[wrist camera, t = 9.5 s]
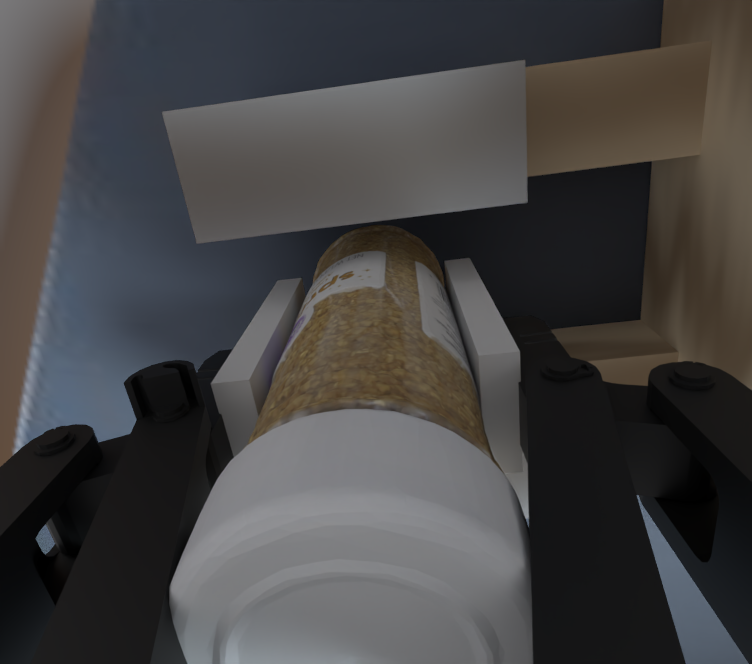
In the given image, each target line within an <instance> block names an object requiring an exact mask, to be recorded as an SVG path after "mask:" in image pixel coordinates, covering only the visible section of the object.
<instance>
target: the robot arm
mask: <svg viewBox="0 0 752 664" xmlns="http://www.w3.org/2000/svg"><path fill="white" fill-rule="evenodd" d="M444 264H445V276H446V289H447V295H448V298H449V300H450V303H451V306H452V310H453V313H454V316H455V319H456V322H457V325H458V329H459V332H460V335H461V338H462V342H463V345H464V348H465V352H466V355H467V358H468V361H469V365H470V368H471V371H472V375H473V378H474V382H475V385H476V388H477V392H478V395H479V403H480V411H481V414H482V418H483V423H484V428H485V433H486V435H487V438H488V442H489V445H490V449H491V451H492V454H493V456H494V459H495V460H496V461H497V463H498V464H499V466H500V467H501V469H502V471H503V472H504V473H516V472H523V455H522V451H523V453H524V456H525V459H526V461H527V464H528V514H529V530H530V552H531V591H532V643H533V664H686V663H685V660H684V657H683V653H682V650H681V646H680V643H679V639H678V636H677V633H676V629H675V626H674V622H673V619H672V615H671V612H670V609H669V605H668V602H667V598H666V595H665V592H664V588H663V585H662V581H661V578H660V574H659V571H658V568H657V564H656V561H655V557H654V554H653V551H652V547H651V544H650V540H649V537H648V533H647V530H646V527H645V523H644V520H643V516H642V513H641V510H640V506H639V503H638V499H637V496H636V495H639V497H640V500H641V503H642V505H643V506H644V508H645V509H646V511H647V512H648V514H649V515H650V517H651V518H652V520H653V521H654V523H655V524H656V526H657V527H658V529H659V530H660V532H661V533H662V534H663V536H664V537H665V539H666V540H667V542H668V543H669V545H670V546H671V548H672V549H673V551H674V552H675V554H676V555H677V557H678V558H679V560H680V561H681V563H682V564H683V566H684V567H685V569H686V570H687V572H688V573H689V575H690V576H691V578H692V579H693V581H694V582H695V584H696V585H697V587H698V588H699V590H700V591H701V593H702V594H703V596H704V597H705V599H706V600H707V602H708V603H709V605H710V606H711V608H712V609H713V611H714V612H715V614H716V615H717V617H718V618H719V620H720V621H721V622H722V624H723V625H724V627H725V628H726V630H727V631H728V633H729V634H730V636H731V637H732V639H733V640H734V642H735V643H736V645H737V646H738V648H739V649H740V651H741V652H742V654H743V655H744V657H745V658H746V660H747V661H748V663H749V664H752V390H751V389H749V388H748V387H747V386H745V385H744V384H743V383H741V382H740V381H739V380H737V379H736V378H735V377H733V376H732V375H730V374H729V373H727V372H725V371H723V370H721V369H719V368H716V367H712V366H709V365H706V364H704V363H700V362H695V363H693V361H682V362H671V363H666V364H661V365H658V366H657V367H655V368H653V369H652V370H651V371H650V374H649V377H648V386H642V385H627V384H617V383H610V382H605V381H603V380H602V376H601V373H600V371H599V370H598V369H597V367H596V366H594V365H593V364H591V363H589V362H587V361H584V360H580V359H576V358H571V357H570V355H569V354H568V353H567V351H566V350H565V349H564V347H563V346H562V345H561V343H560V342H559V341H557V338H556V336H555V335H554V334H553V333H552V331H551V329H550V328H549V327H548V325H547V324H546V323H545V322H544V321H542V320H540V319H538V318H536V317H534V316H531V315H529V316H520V317H511V318H502V317H501V315H500V313H499V311H498V310H497V308H496V306H495V304H494V302H493V300H492V298H491V297H490V295H489V293H488V291H487V289H486V287H485V285H484V284H483V282H482V280H481V278H480V276H479V274H478V272H477V271H476V269H475V267H474V265H473V263H472V261H471V259H470V258H464V259H455V260H447V261H444ZM305 298H306V297H305V291H304V286H303V281H302V278H294V279H286V280H278V281H277V282H276V284H275V285H274V287H273V288H272V290H271V291H270V293H269V295H268V296H267V298H266V299H265V301H264V302H263V304H262V305H261V307H260V308H259V310H258V312H257V313H256V315H255V316H254V318H253V319H252V321H251V322H250V324H249V325H248V327H247V328H246V330H245V332H244V333H243V335H242V336H241V338H240V339H239V341H238V342H237V344H236V345H235V347H234V349H232V350H223V351H218V352H217V353H215V354H214V355H213V356H211V357H210V358H208V359H207V360H205V361H204V363H203V364H202V366H201V367H200V368H199V370H198V372H197V373H196V371H195V368H194V364H192V363H190V362H188V361H181V360H175V361H167V362H162V363H158V364H155V365H151V366H149V367H146V368H144V369H142V370H139V371H138V372H136V373H134V374H133V375H131V376H130V377H129V378H128V379H127V380H126V381H125V382H124V385H125V388H126V391H127V394H128V397H129V399H130V402H131V405H132V408H133V410H134V413H135V416H136V419H137V421H136V423H135V425H134V427H133V430H132V432H131V434H128V435H125V436H121V437H118V438H114V439H110V440H106V441H103V442H99V443H98V441H97V438H96V436H95V433H94V431H93V428H92V427H90V426H88V425H76V424H75V425H70V426H60V427H57V428H56V429H55V430H54V429H51V430H48V431H46V432H45V433H44V434H43V435H41V436H39V437H37V438H35V439H33V440H32V441H30V442H29V443H28V444H26V445H25V446H23V447H22V448H21V449H20V450H19V451H18V452H17V453H16V454H14V455H13V456H12V457H11V458H10V459H9V460H8V461H7V462H6V463H4V464H3V465H2V466H1V467H0V664H187V661H186V659H185V656H184V653H183V651H182V648H181V645H180V642H179V640H178V637H177V634H176V630H175V627H174V624H173V620H172V615H171V611H170V606H169V586H170V584H171V581H172V579H173V576H174V574H175V571H176V569H177V566H178V564H179V561H180V559H181V556H182V554H183V552H184V549H185V547H186V545H187V543H188V540H189V538H190V536H191V533H192V531H193V529H194V527H195V524H196V522H197V520H198V517H199V515H200V513H201V511H202V509H203V507H204V505H205V503H206V501H207V499H208V496H209V494H210V492H211V490H212V488H213V486H214V484H215V483H216V481H217V479H218V477H219V476H220V474H221V473H222V472H223V470H224V469H225V468H226V466H227V465H228V463H229V462H230V461H231V460H232V459H233V458H234V457H235V456H237V455H238V454H239V453H240V452H241V451H242V450H243V449H244V447H246V446H247V444H248V441H249V438H250V436H251V434H252V433H253V431H254V429H255V425H256V422H257V419H258V417H259V415H260V412H261V410H262V407H263V406H264V403H265V401H266V398H267V396H268V393H269V390H270V387H271V383H272V378H273V375H274V372H275V369H276V367H277V365H278V363H279V360H280V358H281V356H282V354H283V351H284V349H285V347H286V345H287V342H288V340H289V337H290V335H291V333H292V330H293V328H294V325H295V322H296V320H297V317H298V314H299V312H300V310H301V307H302V305H303V302H304V300H305ZM45 524H46V525H47V527H48V529H49V532H50V534H51V536H52V538H53V540H54V542H55V545H54V546H53V548H52V549H51V550H50V552H48V553H47V554H46V555H45V554H44V553H43V552H42V551H41V549H40V547H39V545H38V543H37V541H36V539H35V538H36V536H37V535H38V533H39V531H40V530H41V529H42V527H43V526H44V525H45Z"/></svg>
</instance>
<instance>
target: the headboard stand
mask: <svg viewBox="0 0 752 664" xmlns="http://www.w3.org/2000/svg"><path fill="white" fill-rule="evenodd" d="M162 115H163V119H164V122H165V126H166V130H167V134H168V137H169V141H170V145H171V149H172V152H173V156H174V160H175V164H176V167H177V171H178V175H179V179H180V183H181V186H182V190H183V194H184V198H185V201H186V205H187V209H188V213H189V216H190V220H191V224H192V228H193V231H194V235H195V239H196V243H197V244H199V243H207V242H215V241H223V240H231V239H239V238H247V237H255V236H263V235H271V234H279V233H287V232H295V231H303V230H311V229H319V228H327V227H335V226H343V225H351V224H360V223H368V222H376V221H384V220H392V219H400V218H408V217H416V216H424V215H432V214H440V213H448V212H456V211H464V210H472V209H480V208H488V207H496V206H504V205H512V204H520V203H528V197H527V177H530V176H538V175H546V174H554V173H561V172H569V171H577V170H585V169H593V168H600V167H608V166H616V165H624V164H632V163H640V162H647V161H652V168H651V182H650V196H649V209H648V223H647V237H646V251H645V264H644V278H643V292H642V305H641V319H640V320H634V321H625V322H615V323H606V324H597V325H587V326H578V327H569V328H559V329H551V331H552V333H553V334H554V335H555V336H556V338H557V341H559V342H560V343H561V345H562V346H563V347H564V349H565V350H566V351H567V353H568V354H569V355H570V357H571V358H576V359H580V360H584V361H587V362H589V363H591V364H593V365H594V366H596V367H597V369H598V370H599V371H600V373H601V376H602V380H603V381H605V382H610V383H617V384H627V385H642V386H648V377H649V374H650V371H651V370H652V369H653V368H655V367H657V366H658V365H661V364H666V363H671V362H682V361H693V363H695V362H700V363H704V364H706V365H709V366H712V367H716V368H719V369H721V370H723V371H725V372H727V373H729V374H730V375H732V376H733V377H735V378H736V379H737V380H739V381H740V382H741V383H743V384H744V385H745V386H747V387H748V388H749V389H751V390H752V0H664V4H663V18H662V32H661V45H660V48H655V49H648V50H641V51H634V52H627V53H620V54H613V55H606V56H599V57H592V58H585V59H578V60H571V61H564V62H557V63H550V64H543V65H536V66H529V67H525V60H519V61H512V62H505V63H498V64H491V65H484V66H477V67H470V68H463V69H456V70H449V71H443V72H436V73H429V74H422V75H415V76H408V77H401V78H394V79H387V80H380V81H373V82H366V83H359V84H352V85H345V86H338V87H331V88H324V89H317V90H310V91H304V92H297V93H290V94H283V95H276V96H269V97H262V98H255V99H248V100H241V101H234V102H227V103H220V104H213V105H206V106H199V107H192V108H185V109H178V110H172V111H165V112H162ZM522 455H523V472H516V473H504V474H505V476H506V477H507V479H508V480H509V482H510V483H511V485H512V487H513V488H514V490H515V492H516V494H517V496H518V499H519V501H520V504H521V507H522V510H523V513H524V516H525V519H526V518H529V514H528V464H527V461H526V459H525V456H524V453H523V451H522Z"/></svg>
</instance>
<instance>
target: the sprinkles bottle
mask: <svg viewBox="0 0 752 664" xmlns="http://www.w3.org/2000/svg"><path fill="white" fill-rule="evenodd" d="M169 606H170V611H171V615H172V620H173V624H174V627H175V630H176V634H177V637H178V640H179V642H180V645H181V648H182V651H183V653H184V656H185V659H186V661H187V664H533V643H532V591H531V552H530V530H529V527H528V525H527V522H526V519H525V516H524V513H523V510H522V507H521V504H520V501H519V499H518V496H517V494H516V492H515V490H514V488H513V487H512V485H511V483H510V482H509V480H508V479H507V477H506V476H505V474H504V472H503V471H502V469H501V467H500V466H499V464H498V463H497V461H496V460H495V459H494V456H493V454H492V451H491V449H490V445H489V442H488V438H487V435H486V433H485V428H484V423H483V418H482V414H481V411H480V403H479V395H478V392H477V388H476V385H475V382H474V378H473V375H472V371H471V368H470V365H469V361H468V358H467V355H466V352H465V348H464V345H463V342H462V338H461V335H460V332H459V329H458V325H457V322H456V319H455V316H454V313H453V310H452V306H451V303H450V300H449V298H448V295H447V293H446V291H445V289H444V278H443V273H442V270H441V268H440V265H439V263H438V261H437V259H436V257H435V255H434V253H433V252H432V251H431V250H430V249H429V248H428V247H427V246H426V245H425V244H424V243H423V241H422V240H421V239H420V238H418V237H416V236H414V235H412V234H411V233H409V232H407V231H405V230H403V229H402V228H399V227H396V226H389V225H371V226H368V227H361V228H358V229H354V230H351V231H349V232H347V233H346V234H344V235H342V236H341V237H340V238H339V239H337V240H336V241H334V242H333V243H332V244H331V245H330V247H329V248H328V249H327V250H326V251H325V253H324V254H323V256H322V257H321V258H320V259H319V261H318V264H317V268H316V271H315V274H314V277H313V285H312V286H311V288H310V290H309V291H308V293H307V295H306V298H305V300H304V302H303V305H302V307H301V310H300V312H299V314H298V317H297V320H296V322H295V325H294V328H293V330H292V333H291V335H290V337H289V340H288V342H287V345H286V347H285V349H284V351H283V354H282V356H281V358H280V360H279V363H278V365H277V367H276V369H275V372H274V375H273V378H272V383H271V387H270V390H269V393H268V396H267V398H266V401H265V403H264V406H263V407H262V410H261V412H260V415H259V417H258V419H257V422H256V425H255V429H254V431H253V433H252V434H251V436H250V438H249V441H248V444H247V446H246V447H244V449H243V450H242V451H241V452H240V453H239V454H238V455H237V456H235V457H234V458H233V459H232V460H231V461H230V462H229V463H228V465H227V466H226V468H225V469H224V470H223V472H222V473H221V474H220V476H219V477H218V479H217V481H216V483H215V484H214V486H213V488H212V490H211V492H210V494H209V496H208V499H207V501H206V503H205V505H204V507H203V509H202V511H201V513H200V515H199V517H198V520H197V522H196V524H195V527H194V529H193V531H192V533H191V536H190V538H189V540H188V543H187V545H186V547H185V549H184V552H183V554H182V556H181V559H180V561H179V564H178V566H177V569H176V571H175V574H174V576H173V579H172V581H171V584H170V586H169Z"/></svg>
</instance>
